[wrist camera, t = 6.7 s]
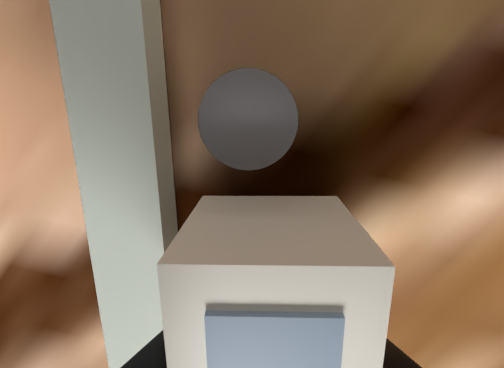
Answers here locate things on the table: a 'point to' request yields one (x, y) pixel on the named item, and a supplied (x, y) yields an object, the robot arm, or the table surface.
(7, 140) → the table surface
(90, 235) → the rail
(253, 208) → the cream rectangular block
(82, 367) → the table surface
